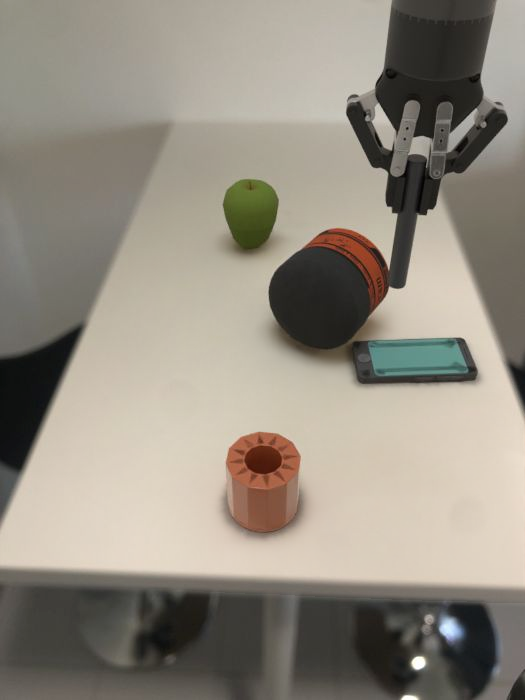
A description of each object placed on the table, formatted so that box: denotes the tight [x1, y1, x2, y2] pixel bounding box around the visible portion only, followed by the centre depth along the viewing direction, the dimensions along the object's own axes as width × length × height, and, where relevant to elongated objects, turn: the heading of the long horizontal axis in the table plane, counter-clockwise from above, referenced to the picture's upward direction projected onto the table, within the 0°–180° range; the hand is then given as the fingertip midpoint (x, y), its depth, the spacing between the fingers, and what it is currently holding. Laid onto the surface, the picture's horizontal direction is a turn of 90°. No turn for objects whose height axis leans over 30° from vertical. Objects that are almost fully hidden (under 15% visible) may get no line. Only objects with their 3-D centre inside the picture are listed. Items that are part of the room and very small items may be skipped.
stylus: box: [387, 153, 428, 290], centre depth 62 cm, size 2×2×14 cm
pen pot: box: [225, 431, 302, 533], centre depth 69 cm, size 7×7×7 cm
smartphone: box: [351, 337, 479, 384], centre depth 87 cm, size 7×1×15 cm
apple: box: [222, 178, 280, 251], centre depth 105 cm, size 9×8×12 cm
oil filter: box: [267, 227, 390, 350], centre depth 88 cm, size 13×12×13 cm
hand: (409, 209), depth 61 cm, fingers closed on stylus, 2 cm apart
